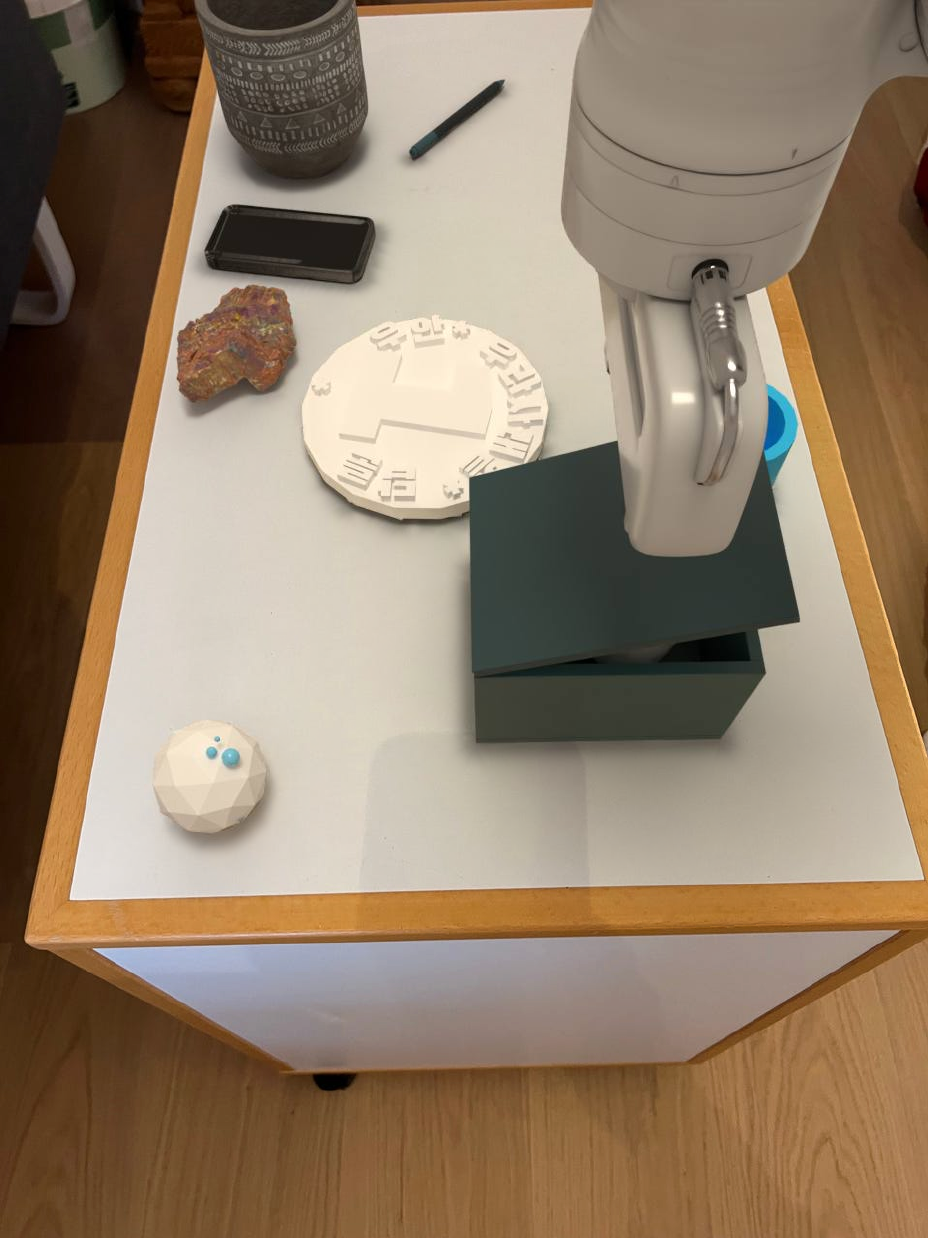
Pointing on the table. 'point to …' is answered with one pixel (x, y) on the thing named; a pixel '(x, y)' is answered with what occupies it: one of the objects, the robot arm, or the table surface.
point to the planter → (288, 80)
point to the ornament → (209, 776)
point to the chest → (624, 696)
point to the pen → (455, 118)
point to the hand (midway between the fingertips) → (631, 438)
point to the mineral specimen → (236, 343)
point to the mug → (778, 431)
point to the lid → (606, 569)
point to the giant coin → (422, 415)
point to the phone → (291, 243)
